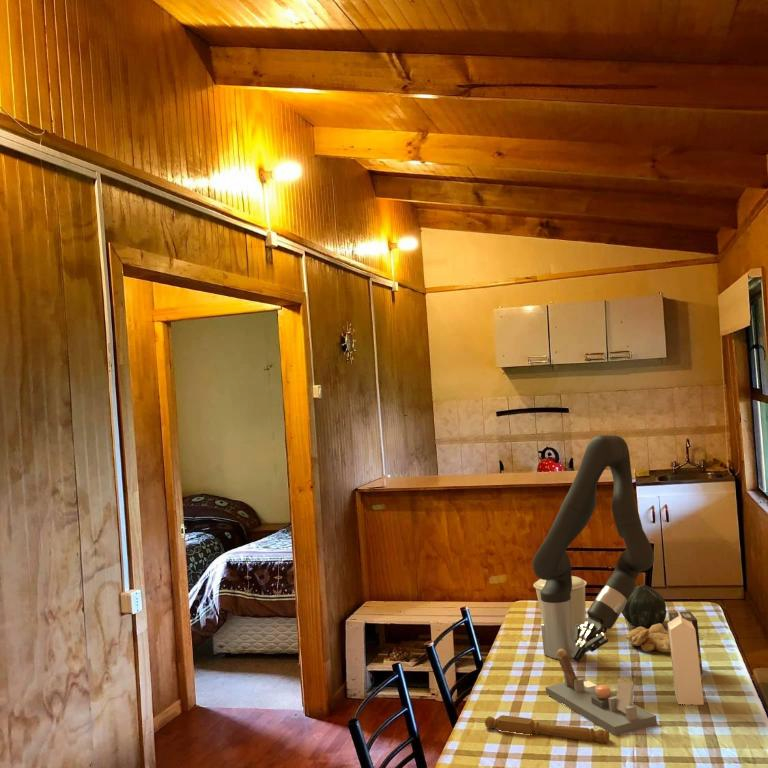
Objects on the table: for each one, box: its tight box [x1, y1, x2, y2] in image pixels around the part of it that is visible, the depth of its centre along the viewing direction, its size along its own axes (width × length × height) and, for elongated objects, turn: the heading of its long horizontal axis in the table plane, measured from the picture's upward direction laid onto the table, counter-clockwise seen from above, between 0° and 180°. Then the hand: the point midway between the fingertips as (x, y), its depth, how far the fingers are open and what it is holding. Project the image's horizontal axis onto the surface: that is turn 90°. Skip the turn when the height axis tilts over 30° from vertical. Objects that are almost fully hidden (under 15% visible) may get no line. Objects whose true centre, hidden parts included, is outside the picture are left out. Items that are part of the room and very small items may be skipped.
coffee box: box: [667, 611, 704, 680], centre depth 205 cm, size 9×6×16 cm
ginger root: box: [624, 623, 671, 653], centre depth 228 cm, size 16×16×8 cm
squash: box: [621, 584, 667, 629], centre depth 252 cm, size 14×15×15 cm
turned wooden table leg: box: [484, 715, 610, 745], centre depth 175 cm, size 3×3×30 cm
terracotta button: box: [595, 684, 612, 698], centre depth 185 cm, size 4×4×2 cm
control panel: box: [545, 674, 658, 737], centre depth 187 cm, size 12×30×5 cm, turn 20°
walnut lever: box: [557, 649, 578, 688], centre depth 196 cm, size 3×3×11 cm
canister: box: [533, 575, 587, 631], centre depth 253 cm, size 18×18×21 cm
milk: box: [667, 610, 704, 706], centre depth 187 cm, size 6×6×22 cm
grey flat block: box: [615, 677, 635, 713], centre depth 178 cm, size 1×5×7 cm, turn 18°
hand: (574, 660), depth 197 cm, fingers closed
